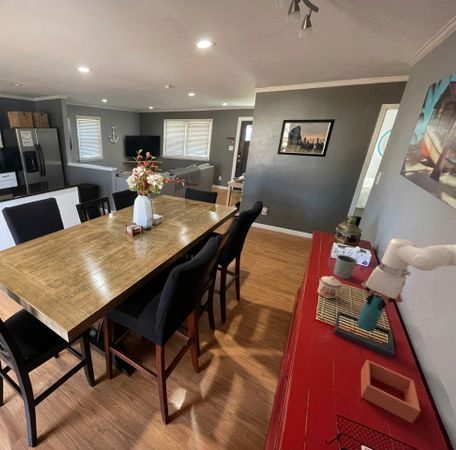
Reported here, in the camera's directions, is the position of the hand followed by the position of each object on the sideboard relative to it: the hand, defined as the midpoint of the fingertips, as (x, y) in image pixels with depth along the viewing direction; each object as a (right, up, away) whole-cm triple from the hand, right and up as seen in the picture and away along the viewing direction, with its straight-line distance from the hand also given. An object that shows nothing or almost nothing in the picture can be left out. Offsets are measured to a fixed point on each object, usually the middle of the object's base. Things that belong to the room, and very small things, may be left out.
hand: (374, 305), depth 102 cm
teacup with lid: (+4, -5, +32) cm, 32 cm away
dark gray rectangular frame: (0, -15, +6) cm, 17 cm away
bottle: (0, -11, +4) cm, 12 cm away
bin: (-14, -25, -19) cm, 34 cm away
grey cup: (+25, +2, +51) cm, 57 cm away
